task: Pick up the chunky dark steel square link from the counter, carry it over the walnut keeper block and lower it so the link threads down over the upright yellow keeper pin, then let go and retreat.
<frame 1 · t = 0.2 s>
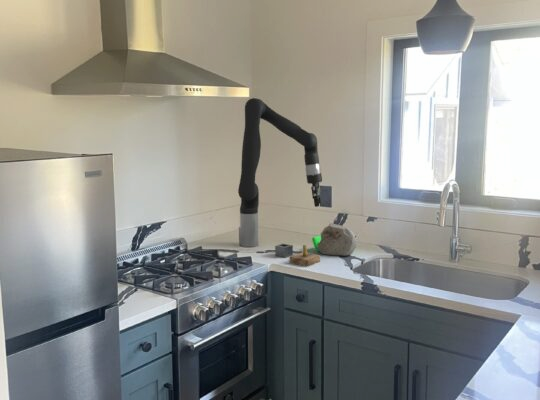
hand: (317, 205, 274), 22 cm above the worktop, tool pointing down, fingers open, 8 cm apart
stone: (336, 254, 264), on the worktop, touching bracket
keeper: (304, 262, 250), on the worktop
link: (284, 255, 263), on the worktop
bracket: (328, 248, 277), on the worktop, touching stone
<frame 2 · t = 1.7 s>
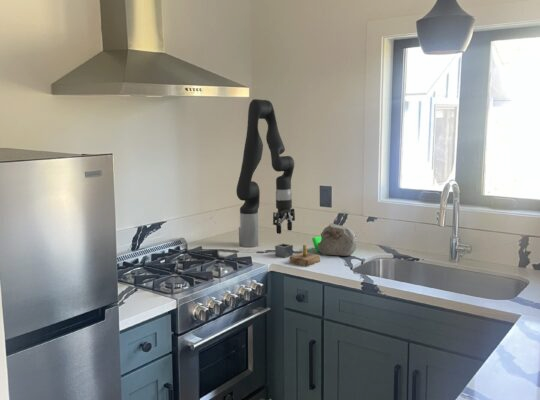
hand: (284, 231, 261), 12 cm above the worktop, tool pointing down, fingers open, 8 cm apart
stone: (337, 255, 263), on the worktop
bracket: (328, 248, 277), on the worktop
everything else where it was.
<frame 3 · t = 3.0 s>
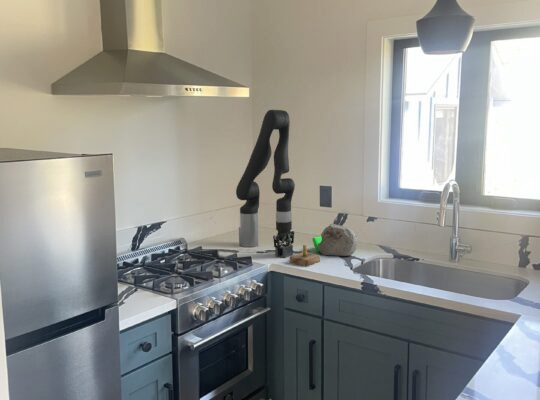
hand: (284, 254, 262), 1 cm above the worktop, tool pointing down, fingers closed on link, 6 cm apart
link: (284, 255, 263), on the worktop, touching gripper
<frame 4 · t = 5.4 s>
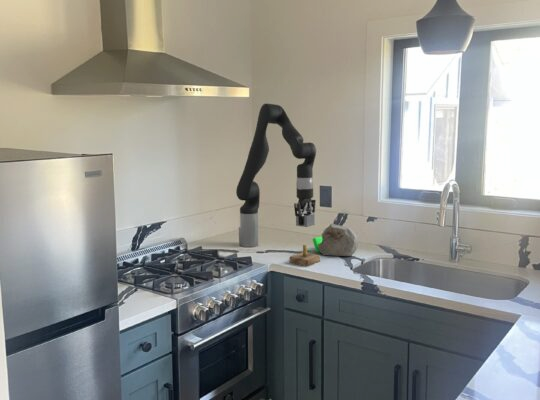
hand: (305, 223, 247), 18 cm above the worktop, tool pointing down, fingers closed on link, 6 cm apart
link: (305, 225, 248), point 17 cm above the worktop, touching gripper
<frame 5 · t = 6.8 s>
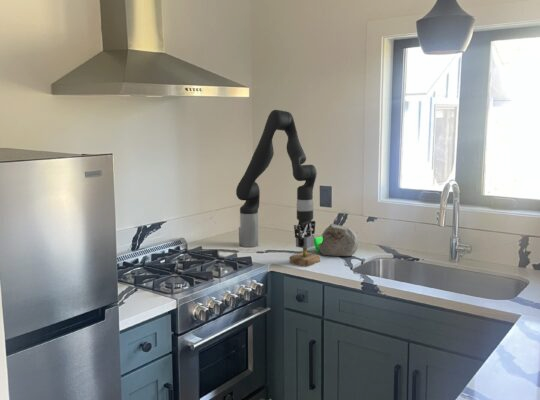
hand: (305, 245, 249), 8 cm above the worktop, tool pointing down, fingers closed on link, 6 cm apart
link: (305, 246, 249), point 7 cm above the worktop, touching gripper
when the fingers open (6 cm above the worktop, at t = 7.7 s): link drops 2 cm, resting on keeper.
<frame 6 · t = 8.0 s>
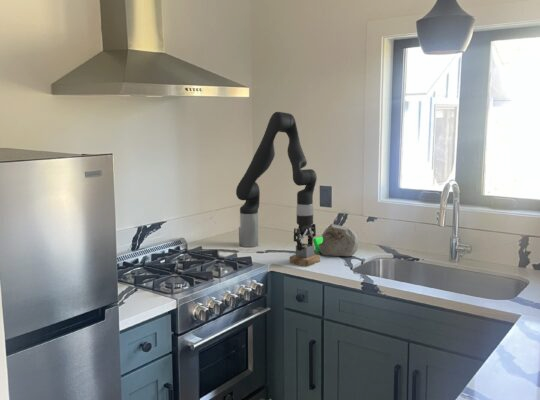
hand: (304, 248, 249), 7 cm above the worktop, tool pointing down, fingers open, 8 cm apart
link: (304, 255, 250), point 3 cm above the worktop, touching keeper
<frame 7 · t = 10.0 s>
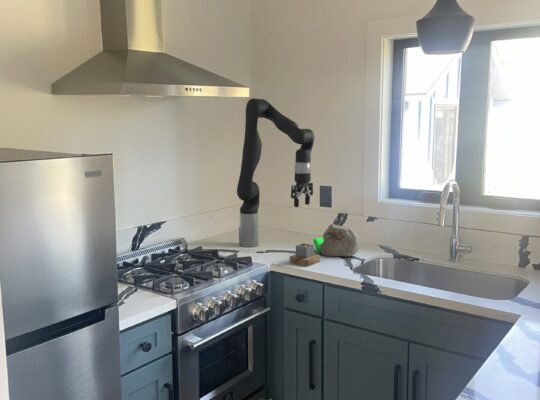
hand: (301, 205, 258), 24 cm above the worktop, tool pointing down, fingers open, 8 cm apart
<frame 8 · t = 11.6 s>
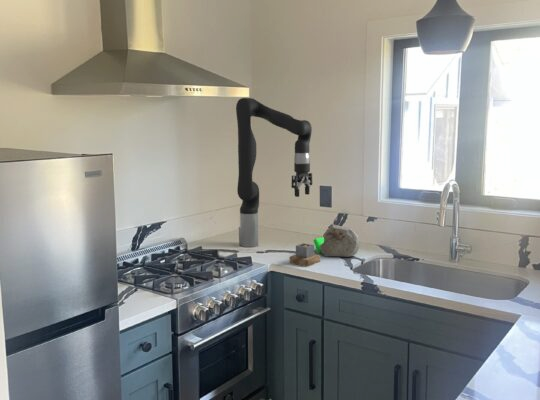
hand: (302, 195, 265), 28 cm above the worktop, tool pointing down, fingers open, 8 cm apart
at the end: link 0.1 cm off-centre on the keeper, point 3.0 cm above the keeper's base; the gripper is holding nothing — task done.
